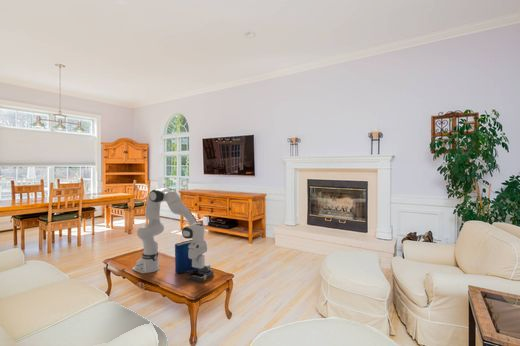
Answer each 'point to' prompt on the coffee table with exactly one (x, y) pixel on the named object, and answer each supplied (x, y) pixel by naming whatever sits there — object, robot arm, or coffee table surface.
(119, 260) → the coffee table surface
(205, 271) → the rack
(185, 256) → the book
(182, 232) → the robot arm
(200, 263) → the block
